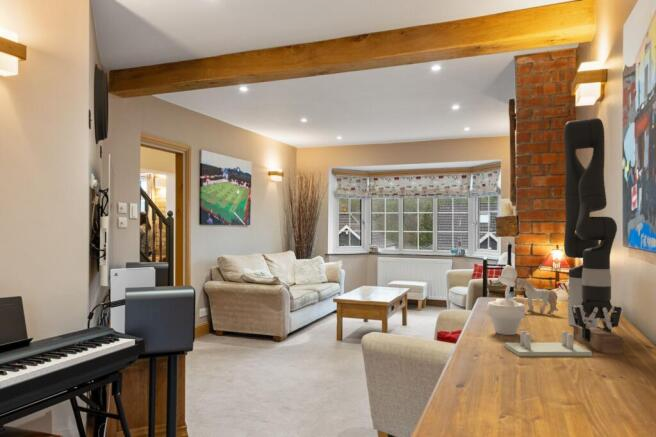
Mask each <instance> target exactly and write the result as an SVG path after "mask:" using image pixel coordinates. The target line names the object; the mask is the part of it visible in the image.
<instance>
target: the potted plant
mask: <svg viewBox="0 0 656 437" xmlns="http://www.w3.org/2000/svg"><path fill="white" fill-rule="evenodd" d="M498 262H499V261H496V265H498V264H499V263H498ZM493 275H494V276H495V271H493ZM517 277H518V272H517V269H515V268H514V266H512V265H510V264H505V266H504V267H503V269H502V270H501V275H498V278H497V280H498V281H499V282H500V283H501V284H502V285H505V286H506V287H505V292H504V298H496V299H495V300H493V301H488V302H487V304H486V305H487V308H486V310H487V312H486V313H487V316H489V317H490V320H491V323H492V325H493V329H494V332H495V333H497V334H499V335H503V336H514V335H516V334H517V333H518V331H519V330H518V329H519V327H520V324H521V321H522V319H524V318H525V317H526V311H525V310H526V304H524V303H522V302H517V301H516V300H514V299H512V298H510V290H511V288H513V287H515V286H517V284H516V283H515V282H514V281H516V279H517Z"/></svg>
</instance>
